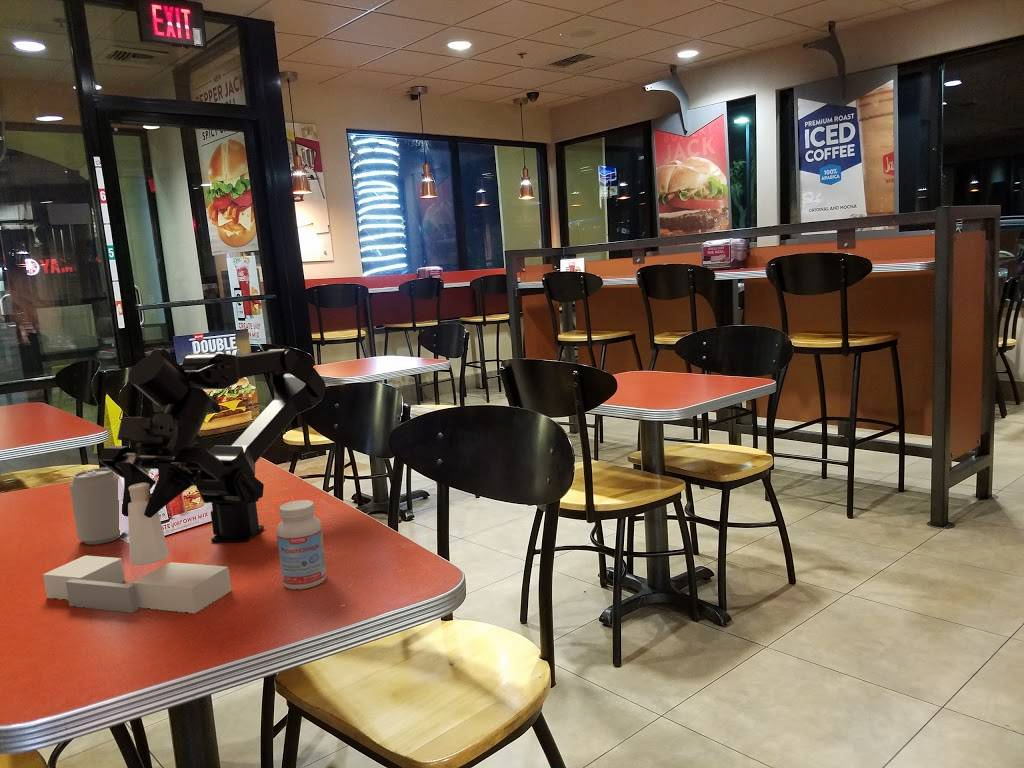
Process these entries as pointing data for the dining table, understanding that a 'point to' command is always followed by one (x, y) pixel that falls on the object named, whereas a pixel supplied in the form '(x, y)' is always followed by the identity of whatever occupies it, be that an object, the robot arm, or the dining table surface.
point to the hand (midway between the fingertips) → (135, 515)
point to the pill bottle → (300, 545)
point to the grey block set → (137, 585)
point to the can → (96, 505)
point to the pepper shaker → (144, 529)
